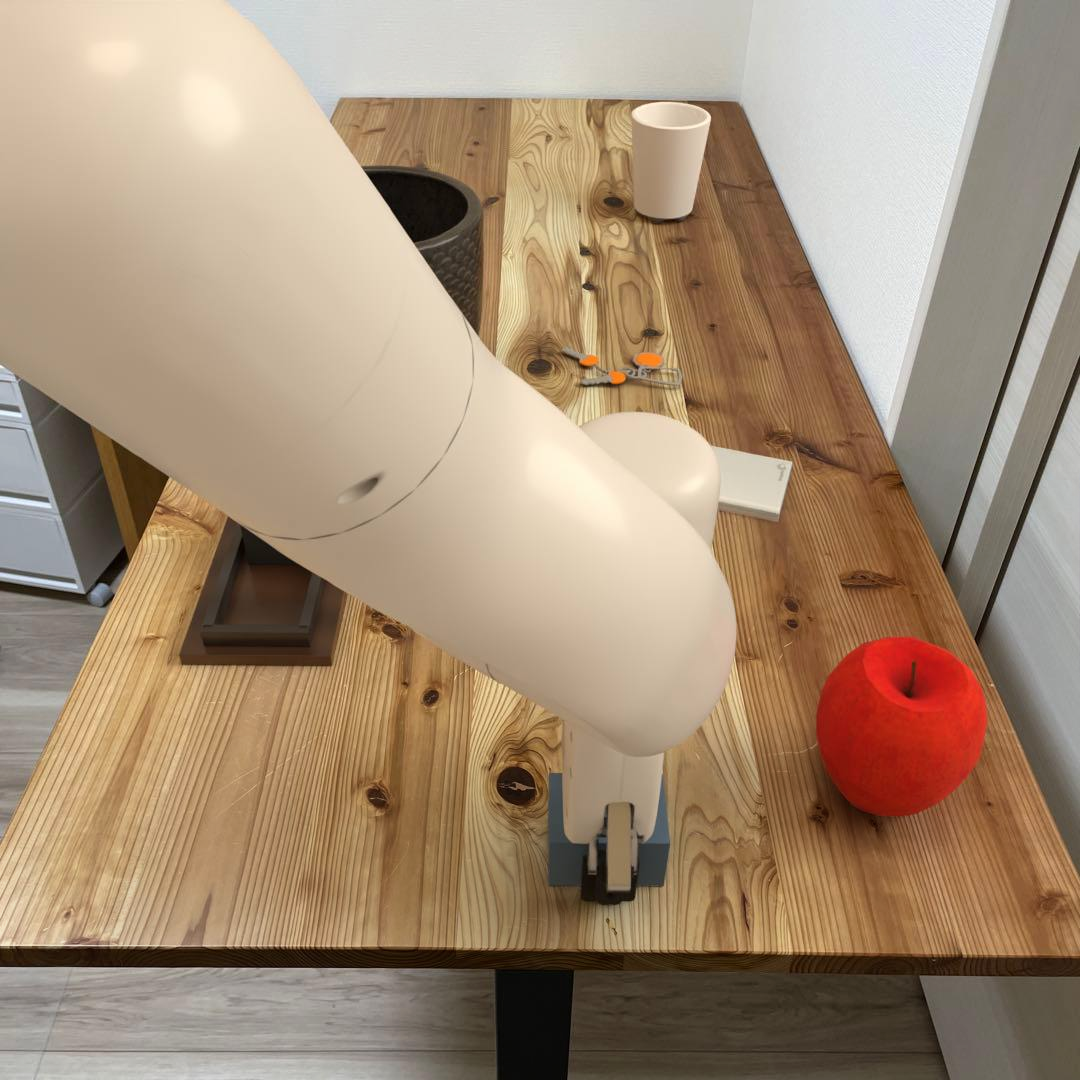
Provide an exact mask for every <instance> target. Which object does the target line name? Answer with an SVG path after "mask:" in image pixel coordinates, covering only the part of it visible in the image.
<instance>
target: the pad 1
mask: <svg viewBox="0 0 1080 1080" xmlns="http://www.w3.org/2000/svg"><path fill="white" fill-rule="evenodd" d="M240 527H241V532H242V536H243V541H244V546H245V550H246V555H247V559H248V564H249V565H299V564H298V563H296V562H294V561H293V560H291V559H290V558H288V557H287V556H285V555H283V554H282V553H280V552H279V551H278V550H276V549H275V548H273V547H272V546H271V545H269V544H268V543H266V542H265V541H264V540H262V539H261V538H259V537H258V536H256V535H255V534H253V533H252V532H250V531H249V530H247V529H246V528H245V527H243V526H242V525H240Z"/></svg>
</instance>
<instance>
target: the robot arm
mask: <svg viewBox="0 0 1080 1080" xmlns="http://www.w3.org/2000/svg"><path fill="white" fill-rule="evenodd" d="M361 166H362V165H360V163H359V162H358V160H357V158H356V157H355V156H354V154H353V153H352V152H351V150H350V149H349V147H348V145H346V143H345V141H344V140H343V138H342V137H341V136H340V134H339V133H338V132H337V130H336V128H335V127H334V126H333V124H332V123H331V122H330V120H329V119H328V117H327V116H326V113H324V111H323V110H322V108H321V107H320V105H319V104H318V103H317V101H316V100H315V98H314V97H313V95H312V94H311V92H309V90H308V89H307V87H306V85H305V84H304V83H303V81H302V80H301V79H300V77H299V75H298V74H297V73H296V72H295V70H294V69H293V68H292V66H291V65H290V64H289V63H288V62H287V61H286V59H285V58H284V57H283V56H282V55H281V54H280V52H279V51H278V50H277V49H276V48H275V47H274V46H273V44H272V43H271V42H270V41H269V40H268V38H266V36H265V35H264V34H263V33H262V32H261V31H260V28H258V27H257V26H256V25H255V24H254V23H252V22H251V21H250V20H249V19H247V17H245V16H244V15H243V14H242V13H241V12H239V10H237V9H236V8H235V7H234V6H233V5H231V4H230V3H229V2H228V1H226V0H0V366H1V367H3V368H4V369H6V370H8V371H9V372H11V373H12V374H13V375H15V376H17V377H18V378H20V379H22V380H23V381H24V382H26V383H28V384H30V385H31V386H32V387H34V388H36V389H37V390H39V391H40V392H41V393H43V394H44V395H46V396H47V397H48V398H50V399H51V400H53V401H55V402H56V403H57V404H59V405H61V406H62V407H63V408H65V409H66V410H67V411H70V412H71V413H72V414H74V415H75V416H77V417H79V418H80V419H81V420H83V421H84V422H85V423H87V424H89V425H90V426H92V427H93V428H95V429H96V430H98V431H99V432H101V433H102V434H104V435H105V436H107V437H108V438H110V439H111V440H113V441H114V442H116V443H117V444H119V445H120V446H122V447H123V448H125V449H126V450H127V451H129V452H131V453H132V454H134V455H135V456H137V457H139V458H141V459H142V460H143V461H145V462H146V463H148V464H149V465H151V466H152V467H153V468H155V469H157V471H160V472H161V473H163V474H164V475H166V476H167V477H169V478H170V479H172V480H173V481H175V482H176V483H178V484H179V485H181V486H182V487H183V488H185V489H186V490H188V491H190V492H191V493H193V494H194V495H196V496H197V497H198V498H200V499H202V500H203V501H205V502H206V503H208V504H209V505H210V506H212V507H214V508H215V509H216V510H218V511H220V512H221V513H222V514H224V515H225V516H227V517H228V516H229V517H230V518H232V519H233V520H234V521H236V522H237V523H239V524H240V525H242V526H243V527H245V528H246V529H247V530H249V531H250V532H252V533H253V534H255V535H256V536H258V537H259V538H261V539H262V540H264V541H265V542H266V543H268V544H269V545H271V546H272V547H273V548H275V549H276V550H278V551H279V552H280V553H282V554H283V555H285V556H287V557H288V558H290V559H291V560H293V561H294V562H296V563H298V564H299V565H301V566H303V567H304V568H306V569H308V570H309V571H311V572H313V573H315V574H316V575H318V576H320V577H322V578H324V579H325V580H327V581H329V582H330V583H331V584H333V585H334V586H336V587H338V588H339V589H341V590H343V591H344V592H346V593H347V595H349V596H352V597H353V598H354V599H357V600H358V601H360V602H362V603H363V604H365V605H366V606H368V607H370V608H371V609H373V610H375V611H377V612H379V613H380V614H383V615H384V616H386V617H388V618H390V619H392V620H394V621H396V622H398V623H400V624H402V625H404V626H406V627H409V628H410V629H411V630H412V631H413V632H414V633H415V634H416V635H418V636H420V638H422V639H423V640H425V641H426V642H428V643H429V644H430V645H431V646H434V647H435V648H437V649H438V650H440V651H441V652H444V653H445V654H447V655H449V656H451V657H452V658H454V659H456V660H457V661H459V662H460V663H463V664H465V665H466V666H468V667H470V668H472V669H474V670H475V671H477V672H479V673H481V674H482V675H484V676H486V677H487V678H489V679H491V680H493V681H494V682H496V683H498V684H500V685H503V686H504V687H506V688H508V689H510V690H512V691H513V692H515V693H517V694H518V695H520V696H522V697H523V698H525V699H526V700H528V701H530V702H532V703H534V704H536V705H537V706H538V707H541V708H543V709H544V710H545V711H547V712H549V713H551V714H552V715H554V716H556V717H558V718H560V719H561V773H562V789H563V820H564V832H565V835H566V836H567V838H568V839H569V840H570V841H571V842H572V843H578V844H588V854H587V855H583V862H582V877H581V886H580V900H581V901H582V902H588V903H591V902H592V903H595V902H596V903H597V904H599V905H601V906H617V905H620V904H621V903H631V902H633V901H635V900H636V894H637V887H638V886H637V880H638V872H639V864H640V863H639V856H638V841H639V840H641V841H642V843H645V842H646V841H647V840H648V839H649V838H650V837H651V835H652V834H653V831H654V827H655V822H656V817H657V810H658V803H659V795H660V788H661V779H662V774H663V771H664V770H663V769H664V768H663V767H664V759H665V753H666V752H667V751H671V749H674V748H676V747H678V746H679V745H681V744H682V743H683V742H685V741H686V740H687V739H689V738H690V737H691V736H692V735H694V733H695V732H696V731H697V730H699V729H700V728H701V727H702V726H703V724H704V723H705V722H706V721H707V719H708V718H709V717H710V715H711V714H712V713H713V711H714V709H715V708H716V706H717V704H718V703H719V701H720V699H721V697H722V695H723V694H724V692H725V689H726V687H727V684H728V682H729V678H730V675H731V673H732V668H733V664H734V659H735V656H736V655H735V654H736V647H737V626H738V625H737V618H736V608H735V604H734V601H733V596H732V593H731V589H730V587H729V584H728V582H727V580H726V578H725V576H724V574H723V571H722V570H721V568H720V566H719V563H718V561H717V559H716V558H715V555H714V554H713V552H712V548H713V542H714V536H715V535H714V534H715V527H716V522H717V515H718V510H717V509H718V503H719V496H720V485H721V474H720V468H719V463H718V460H717V457H716V454H715V452H714V451H713V449H712V447H711V446H712V445H711V444H710V443H709V442H708V441H707V439H706V438H705V437H704V436H703V435H702V434H701V433H700V432H698V431H696V430H695V429H694V428H693V427H691V426H689V425H688V424H686V423H684V422H682V421H680V420H677V419H674V418H672V417H670V416H666V415H663V414H659V413H652V412H646V411H621V412H614V413H608V414H605V415H602V416H601V415H600V416H598V417H595V418H593V419H591V420H589V421H586V422H585V423H583V424H581V425H580V426H579V425H578V424H577V423H575V422H574V421H573V420H572V419H571V418H570V417H569V416H568V415H566V414H565V413H564V412H563V411H562V410H560V408H558V407H557V406H556V405H555V404H554V403H553V402H551V401H550V400H549V399H548V398H546V397H545V396H544V395H543V394H541V393H540V392H539V391H538V390H536V389H535V388H534V386H531V384H529V383H528V382H526V381H525V380H524V379H523V378H521V377H520V376H519V375H518V374H516V373H515V372H513V371H512V370H510V369H509V368H508V367H507V366H506V365H505V364H503V363H502V362H501V361H500V360H499V359H498V358H496V357H495V355H494V354H493V353H492V352H491V351H490V350H489V349H488V347H487V345H485V344H484V342H483V341H482V339H480V337H479V336H478V335H477V334H476V333H475V331H474V330H473V328H472V327H471V325H470V324H469V323H468V321H467V320H466V318H465V317H464V315H463V314H462V312H461V311H460V309H459V308H458V306H457V305H456V303H455V302H454V301H453V299H452V298H451V297H450V296H449V294H448V293H447V292H446V290H445V289H444V287H443V286H442V284H441V283H440V281H439V280H438V278H437V277H436V276H435V274H434V273H433V271H432V270H431V268H430V267H429V265H428V264H427V262H426V261H425V259H424V258H423V257H422V255H421V254H420V252H419V251H418V249H417V248H416V246H415V245H414V243H413V242H412V241H411V239H410V238H409V236H408V235H407V233H406V232H405V230H404V229H403V227H402V226H401V224H400V223H399V222H398V220H397V219H396V217H395V216H394V214H393V213H392V211H391V209H390V208H389V206H388V205H387V203H386V202H385V201H384V199H383V198H382V196H381V195H380V193H379V192H378V190H377V189H376V188H375V186H374V185H373V183H372V182H371V180H370V179H369V178H368V176H367V175H366V173H365V172H364V170H363V169H362V168H361ZM710 445H711V446H710ZM604 814H606V817H604ZM599 837H606V850H598V844H599Z"/></svg>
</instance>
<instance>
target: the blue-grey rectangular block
mask: <svg viewBox="0 0 1080 1080" xmlns="http://www.w3.org/2000/svg"><path fill="white" fill-rule="evenodd" d="M664 778H665V777H664V774H663V773H662V779H661V788H660V795H659V803H658V810H657V817H656V822H655V827H654V831H653V834H652V835H651V837H650V838H649V839H648V840H647V841H646V842H645V843H642V841H641V840H639V841H638V856H639V863H640V864H639V872H638V880H637V887H664V886H665V883H666V882H665V880H666V874H667V868H668V863H669V862H668V861H669V857H670V856H669V854H670V851H671V850H670V849H671V835H670V826H669V825H670V824H669V816H668V807H667V797H666V789H665V779H664ZM604 817H606V814H604ZM598 850H606V837H599V844H598ZM587 854H588V844H578V843H572V842H571V841H570V840H569V839H568V838H567V836H566V835H565V832H564V820H563V789H562V772H549V773H548V793H547V877H548V878H547V884H548V886H551V887H552V886H555V887H558V886H559V887H560V886H561V887H564V886H565V887H566V886H568V887H569V886H570V887H571V886H572V887H574V886H576V887H579V886H580V887H581V877H582V862H583V855H587Z"/></svg>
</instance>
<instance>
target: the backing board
mask: <svg viewBox="0 0 1080 1080" xmlns="http://www.w3.org/2000/svg"><path fill="white" fill-rule="evenodd" d="M347 595H348V593H346V592H344V591H343V590H341V589H339V588H338V587H336V586H334V585H333V584H331V583H330V582H329V581H327V580H325V579H324V578H322V577H320V576H318V575H316V574H315V573H313V572H311V571H309V570H308V569H306V568H304V567H303V566H301V565H249V564H248V559H247V555H246V550H245V546H244V541H243V536H242V532H241V527H240V524H239V523H237V522H236V521H234V520H233V519H232V518H230V517H229V516H227V519H226V521H225V523H224V528H223V530H222V532H221V535H220V538H219V541H218V543H217V546H216V549H215V552H214V555H213V558H212V560H211V563H210V566H209V569H208V571H207V574H206V577H205V580H204V583H203V586H202V589H201V591H200V594H199V597H198V599H197V603H196V605H195V609H194V611H193V614H192V617H191V620H190V622H189V625H188V628H187V631H186V633H185V637H184V640H183V642H182V645H181V648H180V650H179V651H180V652H179V654H178V656H179V661H180V664H181V665H198V666H199V665H200V666H201V665H205V666H206V665H208V666H210V665H211V666H212V665H213V666H215V665H216V666H217V665H219V666H220V665H221V666H227V665H228V666H332V665H333V663H334V659H335V653H336V648H337V643H338V640H339V639H338V638H339V634H340V628H341V623H342V618H343V613H344V608H345V604H346V599H347Z"/></svg>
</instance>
